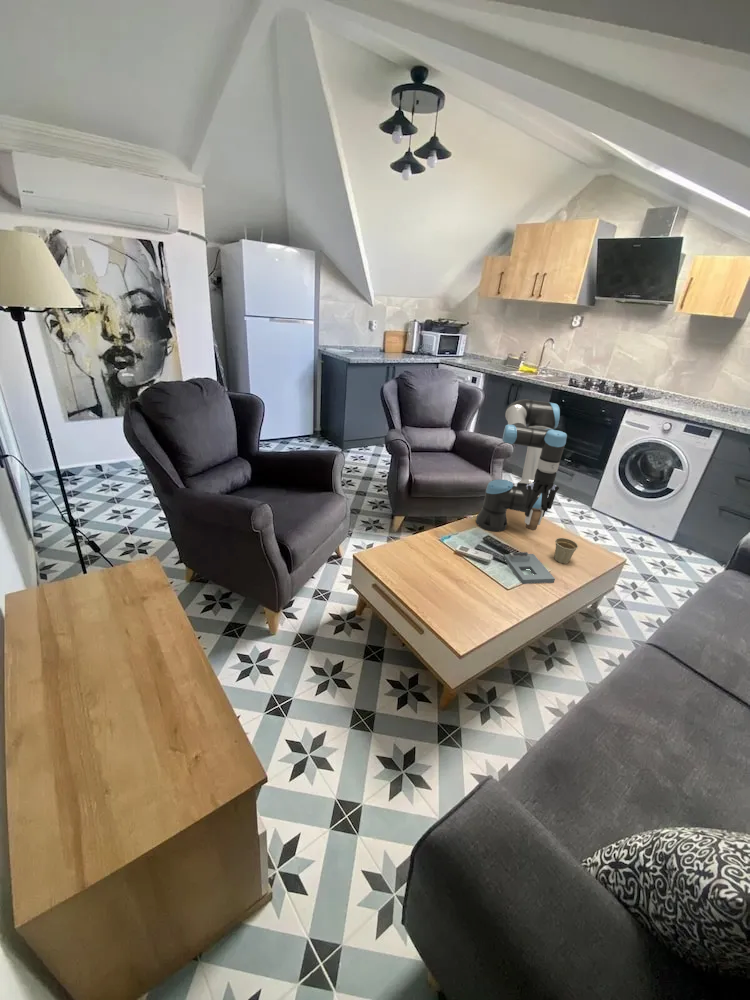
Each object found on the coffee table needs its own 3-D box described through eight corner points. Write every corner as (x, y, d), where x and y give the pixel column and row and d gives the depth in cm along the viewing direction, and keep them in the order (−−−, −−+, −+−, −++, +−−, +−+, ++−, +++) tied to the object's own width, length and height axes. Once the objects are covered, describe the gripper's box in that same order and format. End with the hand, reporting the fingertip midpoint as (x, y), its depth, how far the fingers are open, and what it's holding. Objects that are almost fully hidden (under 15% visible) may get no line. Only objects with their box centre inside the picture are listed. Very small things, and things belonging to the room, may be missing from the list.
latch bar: (508, 557, 180) (510, 551, 178) (525, 557, 181) (527, 551, 180) (511, 561, 177) (513, 555, 176) (529, 561, 178) (530, 555, 177)
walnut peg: (523, 525, 174) (528, 508, 171) (533, 525, 175) (537, 508, 172) (528, 530, 170) (533, 512, 167) (538, 530, 171) (543, 512, 168)
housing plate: (503, 558, 182) (504, 554, 182) (532, 557, 185) (533, 553, 184) (522, 583, 167) (523, 579, 166) (553, 582, 169) (555, 578, 168)
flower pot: (548, 561, 183) (554, 544, 180) (551, 551, 191) (556, 535, 187) (571, 568, 180) (577, 551, 176) (573, 558, 187) (578, 541, 184)
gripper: (531, 472, 158) (516, 527, 167) (572, 474, 161) (555, 527, 170) (522, 466, 164) (508, 518, 174) (561, 467, 167) (546, 519, 177)
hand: (532, 523), depth 172 cm, fingers closed on walnut peg, 4 cm apart
